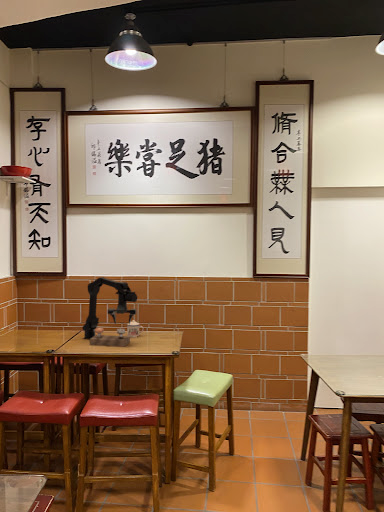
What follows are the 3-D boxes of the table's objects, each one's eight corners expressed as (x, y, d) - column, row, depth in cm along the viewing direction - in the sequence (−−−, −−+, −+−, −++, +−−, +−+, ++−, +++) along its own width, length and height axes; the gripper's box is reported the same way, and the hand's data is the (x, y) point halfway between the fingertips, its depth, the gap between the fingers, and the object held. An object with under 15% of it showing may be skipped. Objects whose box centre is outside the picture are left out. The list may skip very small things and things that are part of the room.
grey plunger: (116, 339, 262) (116, 330, 262) (118, 337, 268) (118, 328, 267) (123, 340, 262) (123, 330, 262) (125, 338, 267) (125, 328, 267)
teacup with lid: (126, 337, 283) (127, 321, 282) (127, 334, 292) (127, 319, 291) (143, 337, 285) (143, 321, 284) (143, 334, 294) (143, 319, 293)
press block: (89, 345, 261) (89, 339, 261) (96, 340, 273) (96, 334, 273) (124, 346, 258) (125, 340, 258) (129, 342, 270) (129, 336, 270)
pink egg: (94, 338, 264) (94, 329, 264) (96, 336, 269) (97, 327, 269) (101, 339, 263) (101, 329, 263) (104, 337, 269) (104, 327, 268)
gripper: (105, 302, 257) (105, 326, 258) (134, 303, 257) (133, 326, 257) (109, 300, 269) (109, 322, 269) (137, 300, 268) (136, 323, 268)
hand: (122, 324), depth 266 cm, fingers open, 9 cm apart
